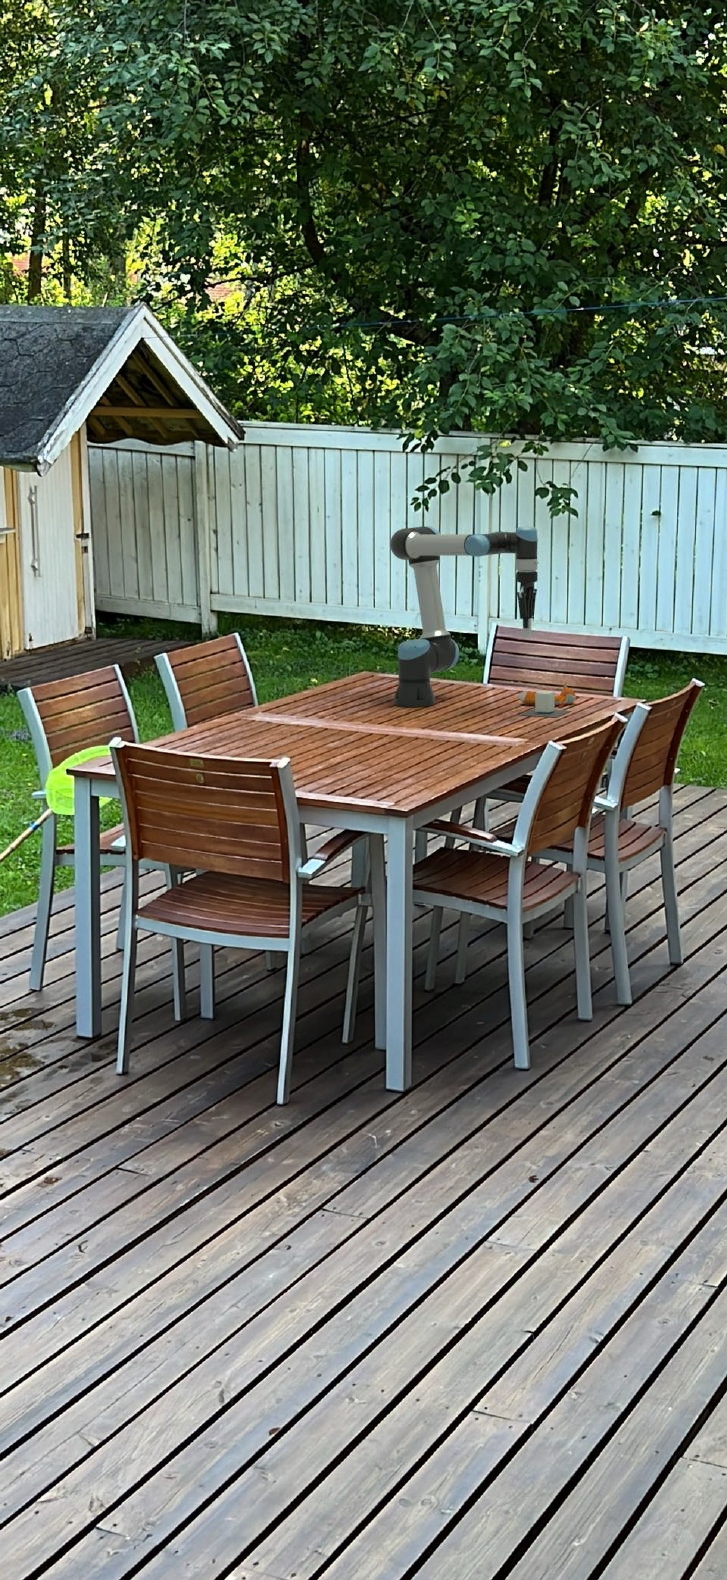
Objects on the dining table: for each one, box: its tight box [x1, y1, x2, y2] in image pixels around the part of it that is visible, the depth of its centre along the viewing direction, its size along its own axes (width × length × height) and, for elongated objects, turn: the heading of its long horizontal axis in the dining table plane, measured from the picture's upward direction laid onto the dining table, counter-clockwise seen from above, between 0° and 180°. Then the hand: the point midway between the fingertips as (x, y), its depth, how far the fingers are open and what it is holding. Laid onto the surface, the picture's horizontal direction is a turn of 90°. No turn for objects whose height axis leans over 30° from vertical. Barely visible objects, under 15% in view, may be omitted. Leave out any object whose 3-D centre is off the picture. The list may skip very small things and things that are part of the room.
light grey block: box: [534, 690, 556, 712], centre depth 638 cm, size 5×5×7 cm
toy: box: [517, 681, 578, 710], centre depth 656 cm, size 8×22×15 cm
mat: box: [518, 708, 572, 719], centre depth 639 cm, size 14×14×1 cm
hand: (527, 636), depth 642 cm, fingers closed
